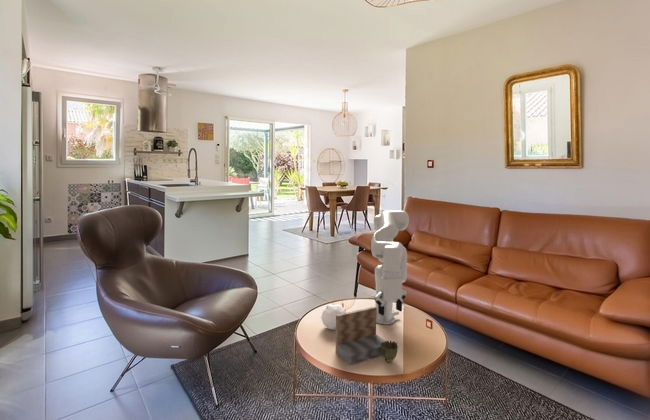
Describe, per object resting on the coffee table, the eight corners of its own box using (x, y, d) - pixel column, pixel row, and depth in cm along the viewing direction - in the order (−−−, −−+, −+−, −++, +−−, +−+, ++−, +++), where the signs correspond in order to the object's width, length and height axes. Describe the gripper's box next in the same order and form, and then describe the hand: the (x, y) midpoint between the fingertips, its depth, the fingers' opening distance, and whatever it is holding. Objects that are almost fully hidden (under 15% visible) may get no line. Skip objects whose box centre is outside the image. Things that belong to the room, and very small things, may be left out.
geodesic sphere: (327, 327, 180) (339, 302, 184) (310, 318, 190) (322, 295, 194) (343, 337, 188) (355, 313, 192) (326, 328, 199) (338, 305, 203)
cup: (378, 357, 163) (379, 340, 162) (394, 356, 164) (395, 339, 163) (382, 366, 156) (383, 348, 155) (399, 365, 157) (400, 348, 156)
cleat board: (374, 341, 178) (375, 306, 176) (390, 353, 167) (391, 315, 165) (335, 352, 167) (335, 315, 165) (350, 365, 156) (350, 325, 154)
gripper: (401, 269, 163) (399, 306, 165) (369, 274, 155) (368, 312, 157) (412, 273, 156) (411, 311, 158) (380, 279, 148) (379, 319, 150)
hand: (390, 312), depth 157 cm, fingers open, 9 cm apart
